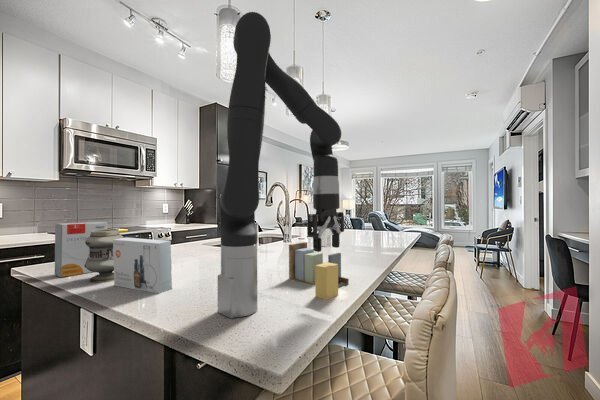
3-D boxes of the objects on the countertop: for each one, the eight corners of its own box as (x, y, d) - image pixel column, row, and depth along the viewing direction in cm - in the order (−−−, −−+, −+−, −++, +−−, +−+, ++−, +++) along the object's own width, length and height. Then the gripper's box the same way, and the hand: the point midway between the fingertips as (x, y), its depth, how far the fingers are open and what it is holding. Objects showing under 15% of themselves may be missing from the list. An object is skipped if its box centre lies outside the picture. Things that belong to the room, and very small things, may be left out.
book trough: (333, 293, 86) (333, 251, 86) (289, 281, 99) (288, 244, 99) (348, 287, 92) (348, 247, 92) (305, 277, 105) (304, 242, 105)
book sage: (312, 282, 94) (312, 255, 94) (304, 280, 96) (304, 254, 96) (322, 279, 98) (322, 253, 98) (314, 277, 100) (314, 252, 100)
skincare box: (112, 286, 95) (111, 239, 95) (127, 282, 100) (127, 237, 100) (158, 294, 87) (158, 242, 87) (172, 289, 92) (172, 240, 92)
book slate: (303, 280, 96) (303, 251, 96) (295, 278, 99) (294, 249, 99) (313, 277, 100) (313, 249, 100) (305, 275, 103) (305, 247, 103)
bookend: (335, 288, 87) (335, 256, 87) (328, 286, 89) (328, 255, 89) (345, 284, 91) (345, 253, 91) (338, 283, 93) (338, 252, 93)
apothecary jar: (76, 282, 100) (76, 231, 100) (106, 273, 112) (106, 227, 112) (104, 284, 97) (104, 231, 97) (132, 275, 109) (132, 228, 109)
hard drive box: (59, 278, 105) (59, 224, 105) (54, 275, 110) (53, 223, 110) (107, 270, 117) (107, 221, 117) (100, 267, 122) (100, 221, 122)
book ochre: (326, 304, 78) (326, 267, 78) (315, 300, 80) (315, 265, 80) (338, 298, 82) (338, 264, 82) (327, 295, 84) (327, 262, 84)
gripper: (321, 192, 73) (322, 254, 73) (350, 192, 84) (351, 247, 84) (299, 192, 78) (300, 251, 78) (330, 193, 89) (331, 244, 89)
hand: (327, 249), depth 81 cm, fingers open, 8 cm apart
